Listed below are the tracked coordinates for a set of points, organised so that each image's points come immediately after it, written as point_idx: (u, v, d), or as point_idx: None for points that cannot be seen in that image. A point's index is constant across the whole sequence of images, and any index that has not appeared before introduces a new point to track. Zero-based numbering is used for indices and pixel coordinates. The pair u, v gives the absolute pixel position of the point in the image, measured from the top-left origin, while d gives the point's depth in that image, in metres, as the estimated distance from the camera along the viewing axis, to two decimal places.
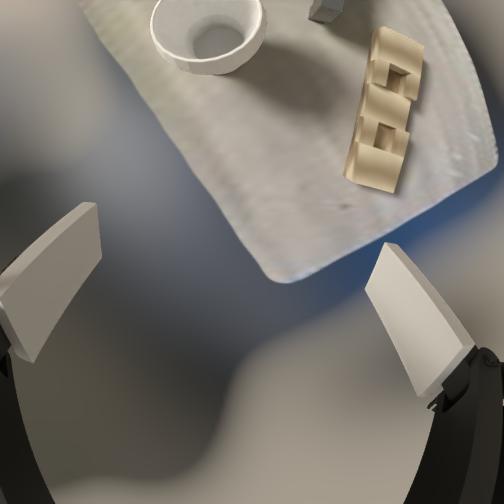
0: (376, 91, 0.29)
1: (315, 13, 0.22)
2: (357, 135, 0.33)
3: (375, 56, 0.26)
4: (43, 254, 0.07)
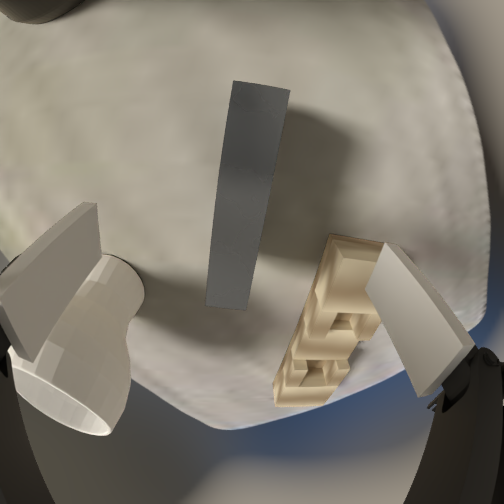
0: None
1: None
2: (285, 367, 0.31)
3: (319, 296, 0.24)
4: (43, 254, 0.07)
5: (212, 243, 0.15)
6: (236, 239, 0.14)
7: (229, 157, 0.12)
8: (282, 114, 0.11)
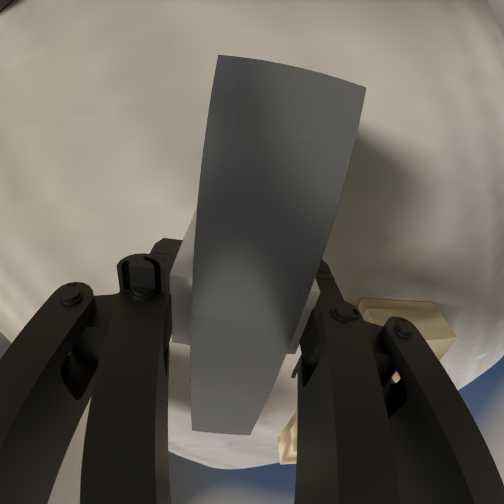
0: None
1: None
2: (293, 430, 0.24)
3: None
4: None
5: (193, 381, 0.08)
6: (234, 378, 0.08)
7: (212, 252, 0.05)
8: (345, 149, 0.04)
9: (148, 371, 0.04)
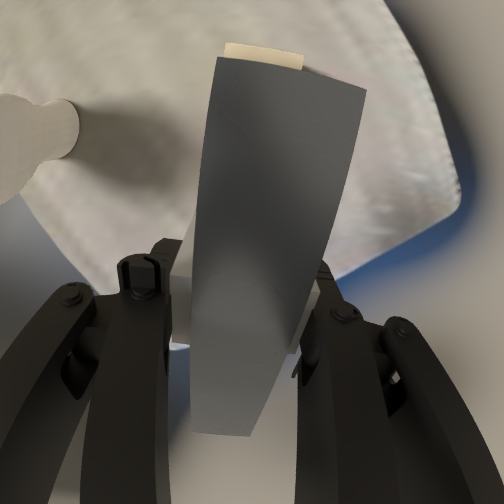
0: None
1: None
2: None
3: None
4: None
5: (192, 383, 0.08)
6: (234, 380, 0.08)
7: (211, 255, 0.05)
8: (345, 151, 0.04)
9: (148, 371, 0.04)
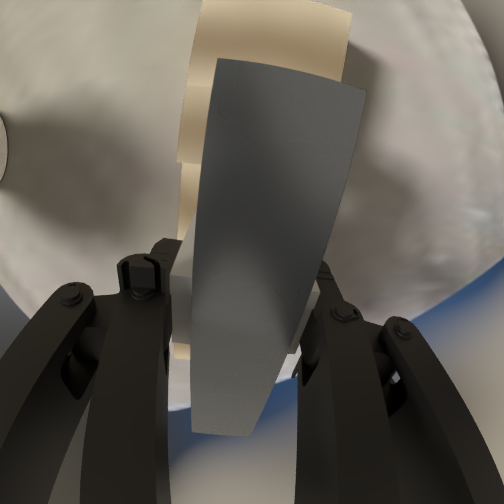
0: None
1: None
2: None
3: None
4: None
5: (193, 383, 0.08)
6: (234, 380, 0.08)
7: (211, 256, 0.05)
8: (346, 153, 0.04)
9: (148, 371, 0.04)
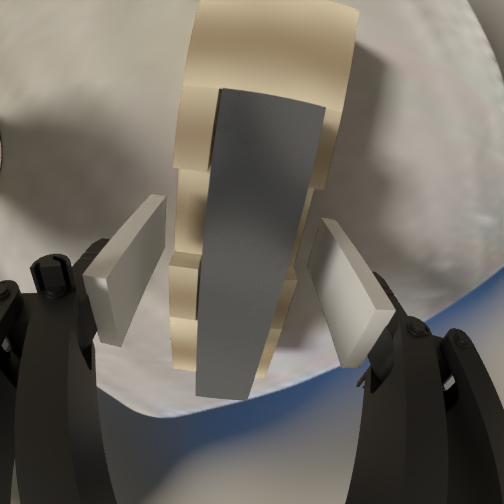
0: (198, 181, 0.13)
1: None
2: None
3: None
4: (135, 239, 0.08)
5: (199, 339, 0.10)
6: (233, 335, 0.10)
7: (217, 225, 0.07)
8: (311, 151, 0.07)
9: (60, 363, 0.04)
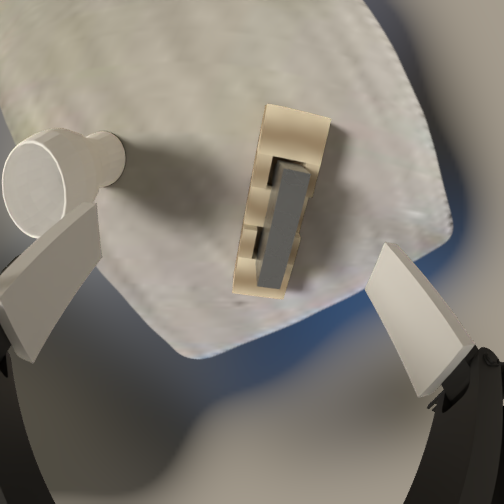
0: (259, 192, 0.31)
1: (257, 271, 0.32)
2: (240, 242, 0.35)
3: (258, 147, 0.29)
4: (43, 254, 0.07)
5: (266, 250, 0.28)
6: (279, 248, 0.28)
7: (279, 206, 0.25)
8: (306, 186, 0.25)
9: None
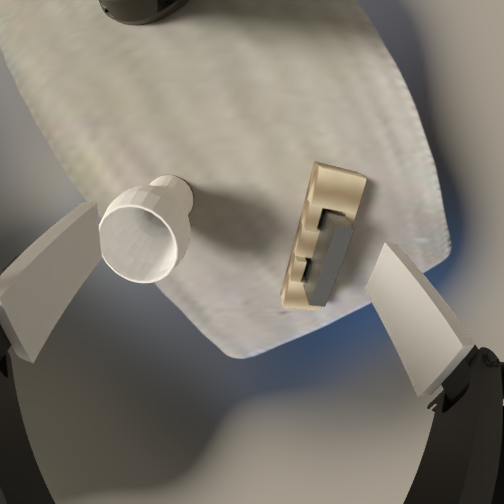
0: (308, 232, 0.40)
1: (306, 292, 0.42)
2: (290, 268, 0.45)
3: (310, 198, 0.38)
4: (43, 254, 0.07)
5: (318, 280, 0.37)
6: (327, 279, 0.37)
7: (330, 251, 0.35)
8: (350, 237, 0.34)
9: None
